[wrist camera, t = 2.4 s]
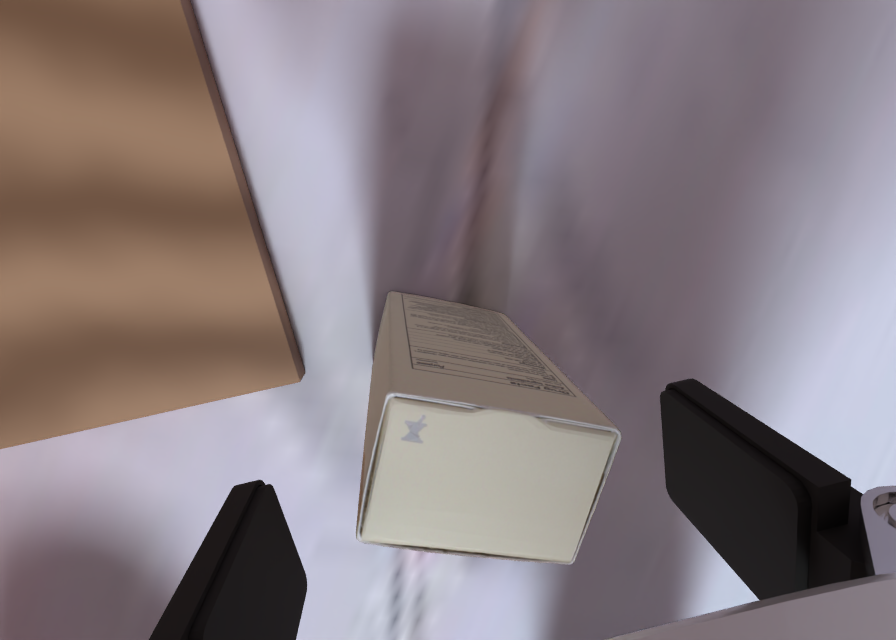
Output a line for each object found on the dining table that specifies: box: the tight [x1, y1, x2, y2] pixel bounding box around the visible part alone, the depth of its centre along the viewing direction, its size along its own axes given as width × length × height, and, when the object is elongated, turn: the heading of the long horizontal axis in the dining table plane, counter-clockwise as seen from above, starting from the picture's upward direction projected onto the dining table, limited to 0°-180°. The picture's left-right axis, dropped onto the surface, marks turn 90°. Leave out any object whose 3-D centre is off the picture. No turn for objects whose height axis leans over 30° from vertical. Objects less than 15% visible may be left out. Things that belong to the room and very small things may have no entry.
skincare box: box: [356, 291, 622, 565], centre depth 17 cm, size 6×4×12 cm
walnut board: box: [0, 0, 305, 449], centre depth 19 cm, size 18×14×1 cm
